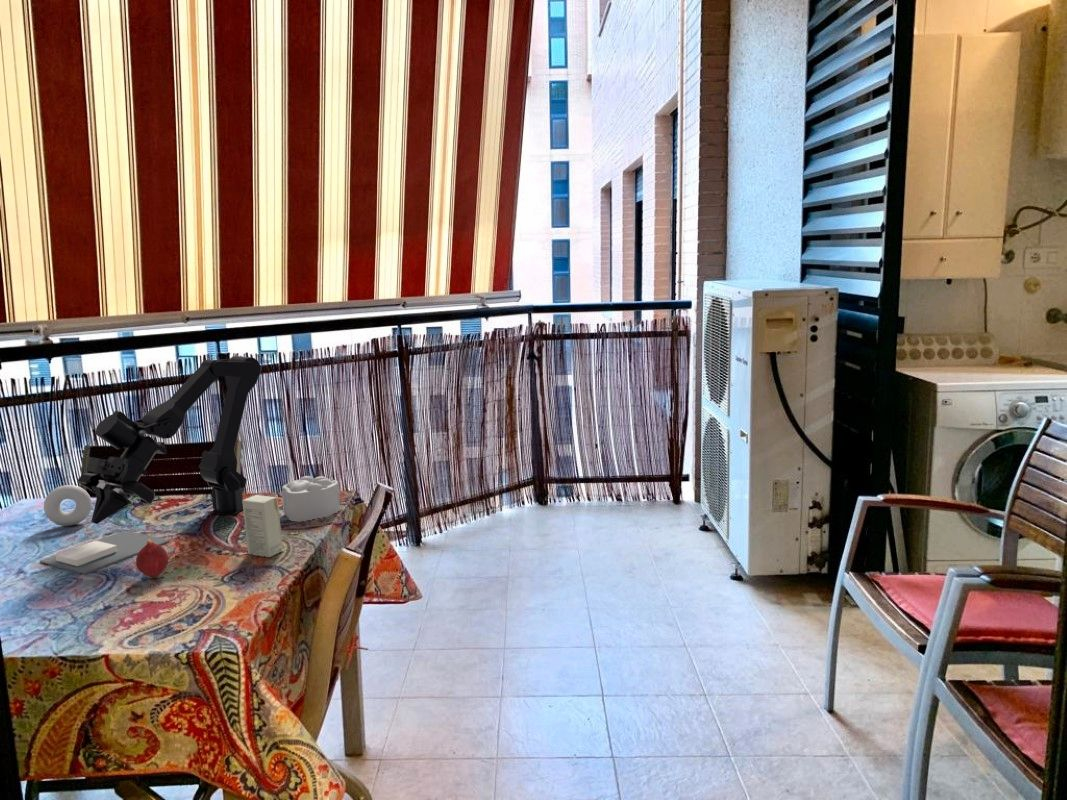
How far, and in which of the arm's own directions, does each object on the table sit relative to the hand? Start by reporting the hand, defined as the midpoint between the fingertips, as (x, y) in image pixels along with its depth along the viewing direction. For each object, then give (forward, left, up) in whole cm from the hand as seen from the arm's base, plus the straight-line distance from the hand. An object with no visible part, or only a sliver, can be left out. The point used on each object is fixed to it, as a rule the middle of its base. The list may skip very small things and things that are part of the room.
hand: (94, 523), depth 169 cm
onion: (-20, +9, -7) cm, 23 cm away
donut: (+21, -15, -7) cm, 27 cm away
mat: (-1, -2, -7) cm, 8 cm away
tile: (+1, +2, -6) cm, 6 cm away
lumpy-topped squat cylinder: (-33, -33, -7) cm, 48 cm away
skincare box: (-35, -7, -7) cm, 37 cm away
